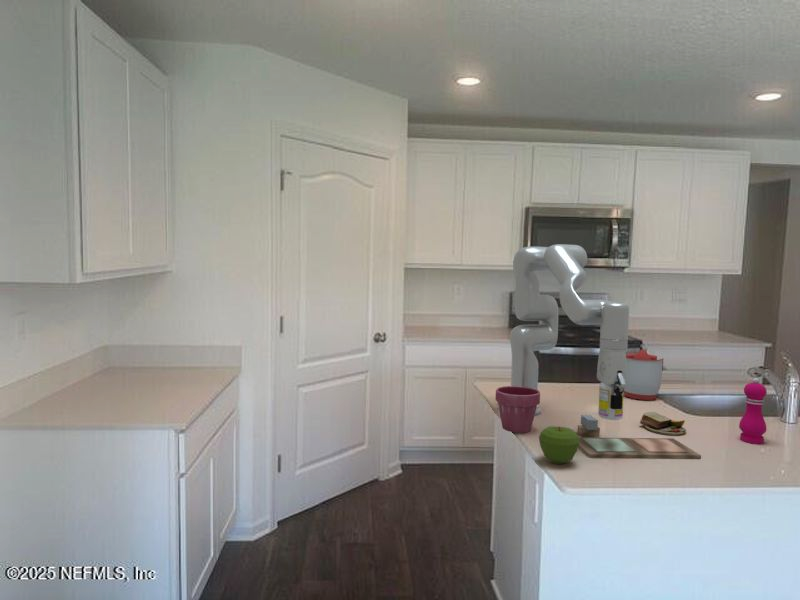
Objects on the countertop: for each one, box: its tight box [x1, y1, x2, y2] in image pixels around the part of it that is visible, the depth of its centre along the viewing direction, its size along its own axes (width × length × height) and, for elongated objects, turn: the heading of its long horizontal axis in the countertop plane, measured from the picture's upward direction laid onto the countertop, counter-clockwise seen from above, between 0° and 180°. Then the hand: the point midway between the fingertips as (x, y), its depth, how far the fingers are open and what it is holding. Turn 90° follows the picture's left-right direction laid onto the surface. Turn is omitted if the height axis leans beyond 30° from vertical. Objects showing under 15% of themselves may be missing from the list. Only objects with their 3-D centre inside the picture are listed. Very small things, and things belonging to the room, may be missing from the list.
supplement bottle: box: [598, 382, 625, 421], centre depth 164 cm, size 7×7×13 cm
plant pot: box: [495, 385, 541, 434], centre depth 183 cm, size 14×14×13 cm
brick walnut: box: [576, 424, 601, 438], centre depth 178 cm, size 6×3×3 cm, turn 93°
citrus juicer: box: [624, 348, 667, 401], centre depth 230 cm, size 16×17×20 cm
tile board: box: [578, 436, 702, 460], centre depth 166 cm, size 32×15×1 cm, turn 92°
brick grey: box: [580, 414, 599, 430], centre depth 178 cm, size 6×3×3 cm, turn 3°
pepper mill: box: [738, 377, 768, 445], centre depth 176 cm, size 7×7×20 cm
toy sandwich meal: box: [639, 411, 687, 436], centre depth 186 cm, size 12×14×5 cm
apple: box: [538, 425, 580, 465], centre depth 153 cm, size 11×10×10 cm
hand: (610, 405), depth 164 cm, fingers closed on supplement bottle, 6 cm apart
